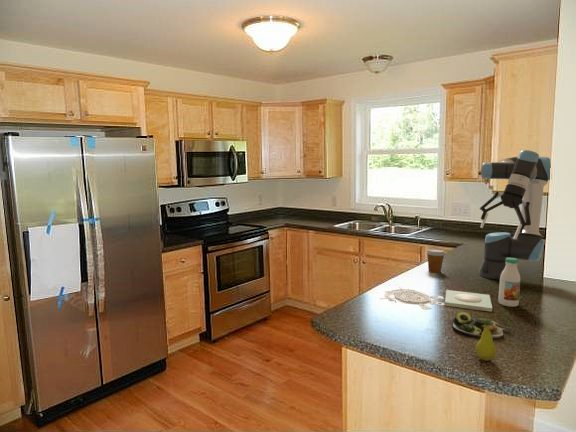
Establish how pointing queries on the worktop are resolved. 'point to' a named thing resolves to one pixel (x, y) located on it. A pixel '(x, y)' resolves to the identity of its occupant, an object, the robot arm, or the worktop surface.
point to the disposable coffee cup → (435, 260)
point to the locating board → (468, 300)
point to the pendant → (413, 297)
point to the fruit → (486, 345)
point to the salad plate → (476, 325)
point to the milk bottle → (509, 284)
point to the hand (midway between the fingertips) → (497, 233)
